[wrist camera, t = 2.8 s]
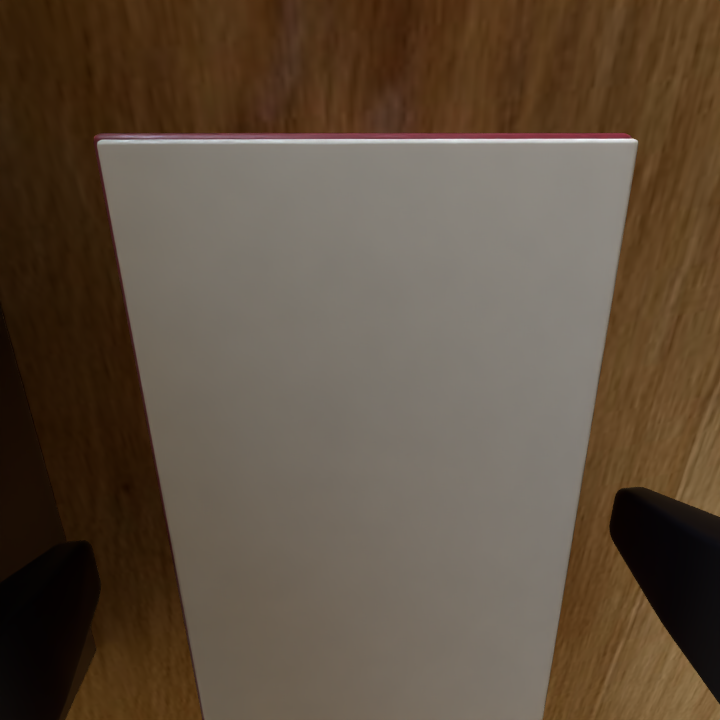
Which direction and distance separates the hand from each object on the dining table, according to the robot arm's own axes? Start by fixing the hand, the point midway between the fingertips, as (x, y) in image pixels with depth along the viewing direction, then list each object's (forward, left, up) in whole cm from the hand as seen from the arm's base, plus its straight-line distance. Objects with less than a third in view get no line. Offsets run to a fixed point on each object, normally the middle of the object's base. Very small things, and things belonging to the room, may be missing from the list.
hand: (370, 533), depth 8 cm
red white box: (0, 0, -4) cm, 4 cm away
